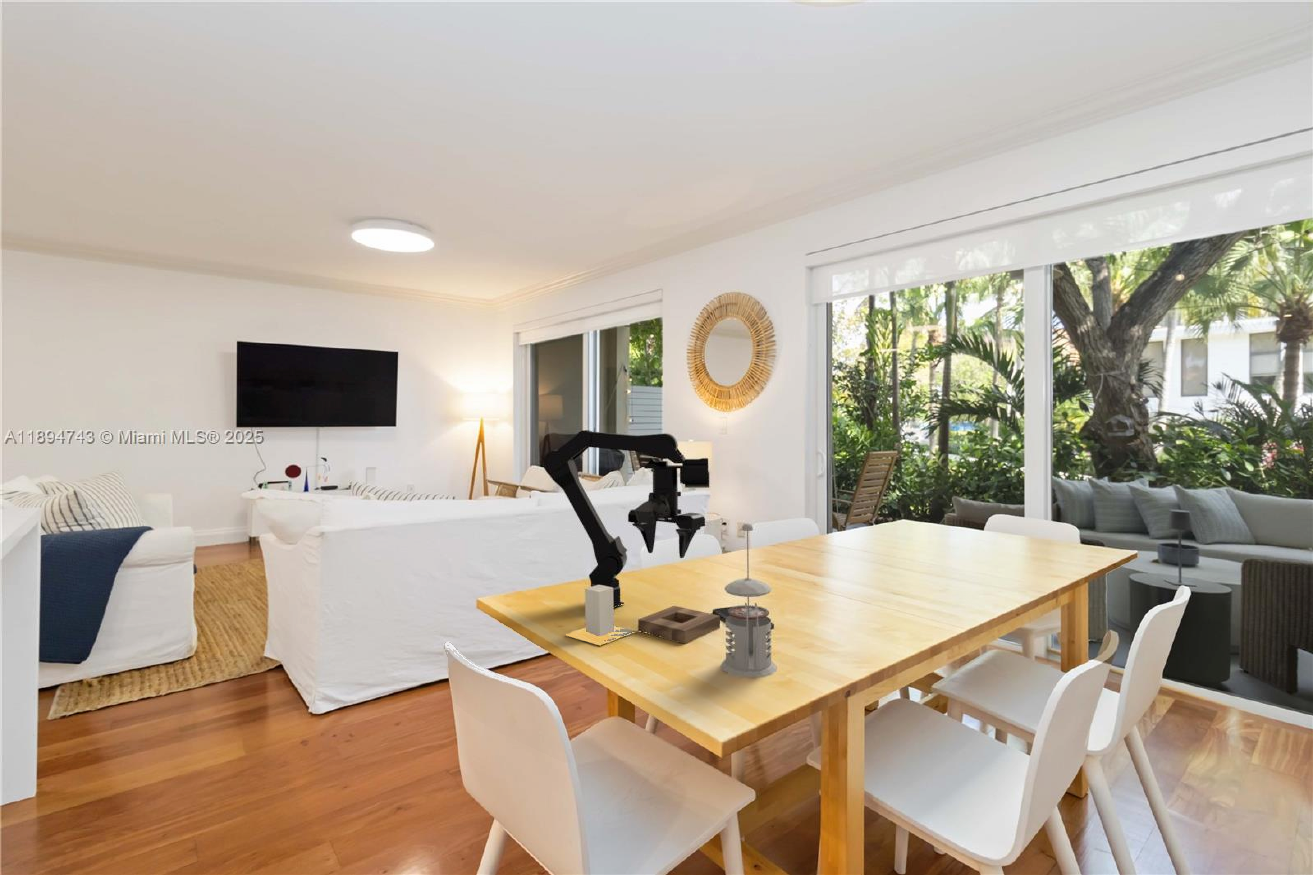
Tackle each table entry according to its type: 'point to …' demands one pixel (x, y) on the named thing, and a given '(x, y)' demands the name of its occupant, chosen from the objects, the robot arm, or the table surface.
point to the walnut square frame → (679, 624)
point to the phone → (727, 614)
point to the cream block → (599, 610)
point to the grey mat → (621, 634)
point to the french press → (748, 629)
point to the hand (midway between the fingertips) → (665, 555)
